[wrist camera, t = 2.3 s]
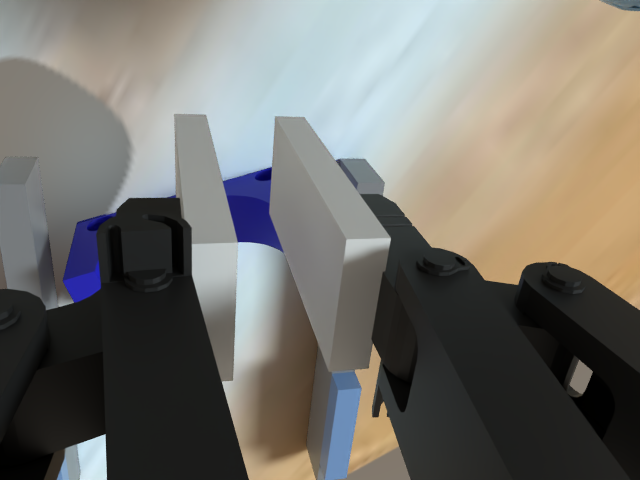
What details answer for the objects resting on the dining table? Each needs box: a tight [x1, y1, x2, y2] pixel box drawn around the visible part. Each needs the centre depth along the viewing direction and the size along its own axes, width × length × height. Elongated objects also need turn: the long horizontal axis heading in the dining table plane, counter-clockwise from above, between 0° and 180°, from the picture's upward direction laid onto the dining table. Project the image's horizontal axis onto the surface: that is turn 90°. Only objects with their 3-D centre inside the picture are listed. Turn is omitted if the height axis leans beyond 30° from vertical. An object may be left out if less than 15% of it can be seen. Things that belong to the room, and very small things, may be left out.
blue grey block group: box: [0, 157, 385, 480], centre depth 35 cm, size 23×19×5 cm
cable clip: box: [63, 167, 284, 303], centre depth 32 cm, size 12×4×6 cm, turn 102°
